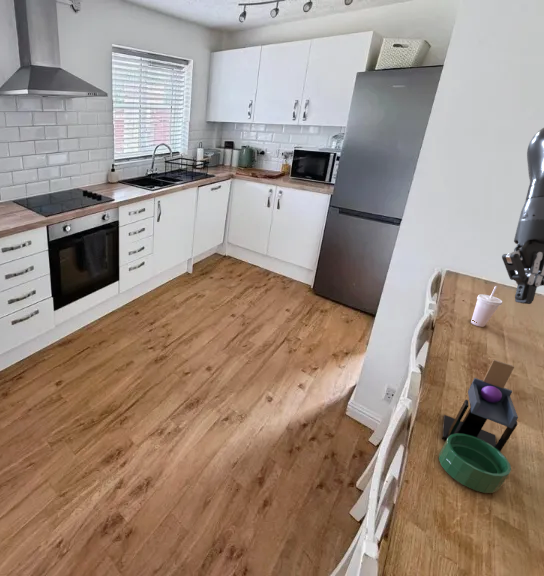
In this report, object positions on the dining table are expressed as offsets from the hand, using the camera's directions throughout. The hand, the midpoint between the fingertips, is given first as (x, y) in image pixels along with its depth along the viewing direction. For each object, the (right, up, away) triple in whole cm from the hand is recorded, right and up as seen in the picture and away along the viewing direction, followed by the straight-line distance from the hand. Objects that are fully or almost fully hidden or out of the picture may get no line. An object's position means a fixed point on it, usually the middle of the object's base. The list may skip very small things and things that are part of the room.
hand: (523, 303), depth 78 cm
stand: (-12, -29, 0) cm, 31 cm away
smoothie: (+31, -9, +47) cm, 57 cm away
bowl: (-18, -32, -7) cm, 37 cm away
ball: (-10, -18, -4) cm, 21 cm away
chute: (-12, -21, -5) cm, 24 cm away
